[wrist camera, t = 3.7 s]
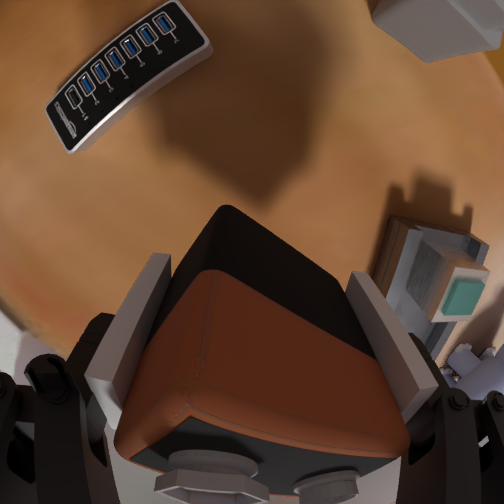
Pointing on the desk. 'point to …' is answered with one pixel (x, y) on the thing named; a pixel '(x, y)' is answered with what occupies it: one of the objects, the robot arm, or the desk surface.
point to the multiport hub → (126, 74)
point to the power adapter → (442, 26)
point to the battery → (257, 379)
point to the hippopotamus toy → (476, 371)
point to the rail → (402, 269)
